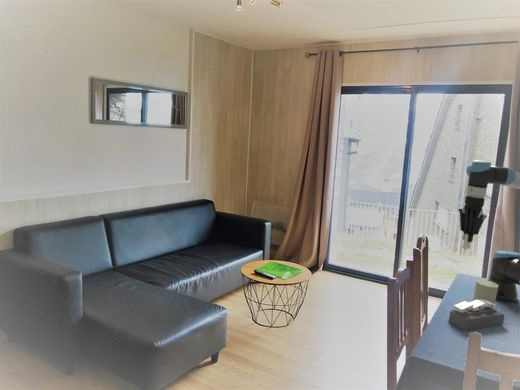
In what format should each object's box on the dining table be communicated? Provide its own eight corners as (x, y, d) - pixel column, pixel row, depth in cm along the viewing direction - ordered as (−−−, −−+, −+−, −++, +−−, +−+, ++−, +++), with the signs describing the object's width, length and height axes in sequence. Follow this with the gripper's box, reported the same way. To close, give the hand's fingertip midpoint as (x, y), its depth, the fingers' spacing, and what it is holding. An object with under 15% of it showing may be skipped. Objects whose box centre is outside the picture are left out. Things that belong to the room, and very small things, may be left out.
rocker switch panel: (486, 316, 182) (488, 303, 181) (502, 325, 175) (505, 311, 174) (448, 321, 174) (450, 308, 173) (464, 331, 167) (466, 317, 166)
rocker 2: (476, 302, 178) (476, 299, 177) (485, 307, 174) (485, 303, 173) (466, 307, 176) (466, 303, 176) (474, 311, 172) (474, 308, 172)
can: (496, 312, 188) (501, 287, 186) (475, 309, 190) (479, 284, 188) (490, 304, 197) (494, 280, 195) (469, 300, 199) (473, 277, 196)
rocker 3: (487, 304, 181) (488, 300, 181) (496, 309, 177) (497, 305, 177) (478, 302, 178) (479, 298, 178) (486, 306, 174) (488, 303, 174)
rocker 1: (464, 304, 175) (464, 300, 175) (473, 308, 171) (473, 305, 171) (453, 308, 173) (453, 304, 173) (462, 313, 169) (462, 309, 169)
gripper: (457, 193, 185) (448, 243, 189) (481, 199, 173) (472, 253, 177) (469, 193, 188) (460, 243, 192) (494, 199, 176) (484, 252, 180)
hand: (466, 248), depth 184 cm, fingers closed
